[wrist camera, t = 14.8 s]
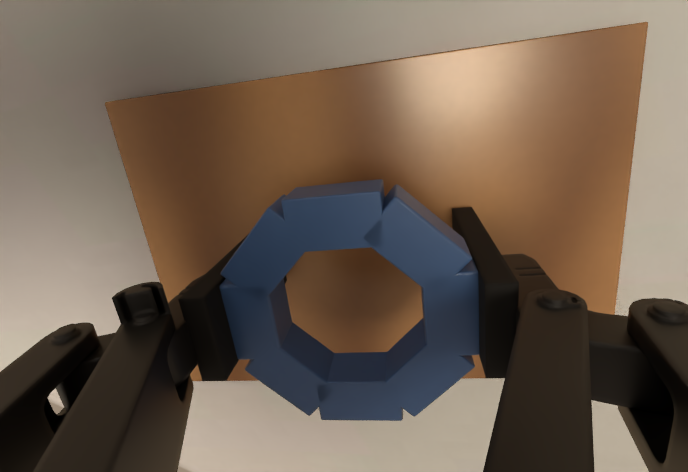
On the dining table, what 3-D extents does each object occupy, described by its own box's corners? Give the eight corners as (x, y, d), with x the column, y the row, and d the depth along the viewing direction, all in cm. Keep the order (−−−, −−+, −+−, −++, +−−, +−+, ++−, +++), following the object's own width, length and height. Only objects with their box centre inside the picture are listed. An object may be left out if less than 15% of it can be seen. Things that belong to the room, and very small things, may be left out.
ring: (266, 388, 14) (251, 420, 13) (220, 194, 12) (196, 207, 10) (473, 386, 13) (482, 422, 12) (469, 170, 11) (479, 181, 9)
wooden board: (194, 376, 21) (190, 381, 21) (110, 102, 16) (103, 102, 16) (603, 371, 17) (607, 377, 17) (641, 23, 13) (648, 21, 13)
